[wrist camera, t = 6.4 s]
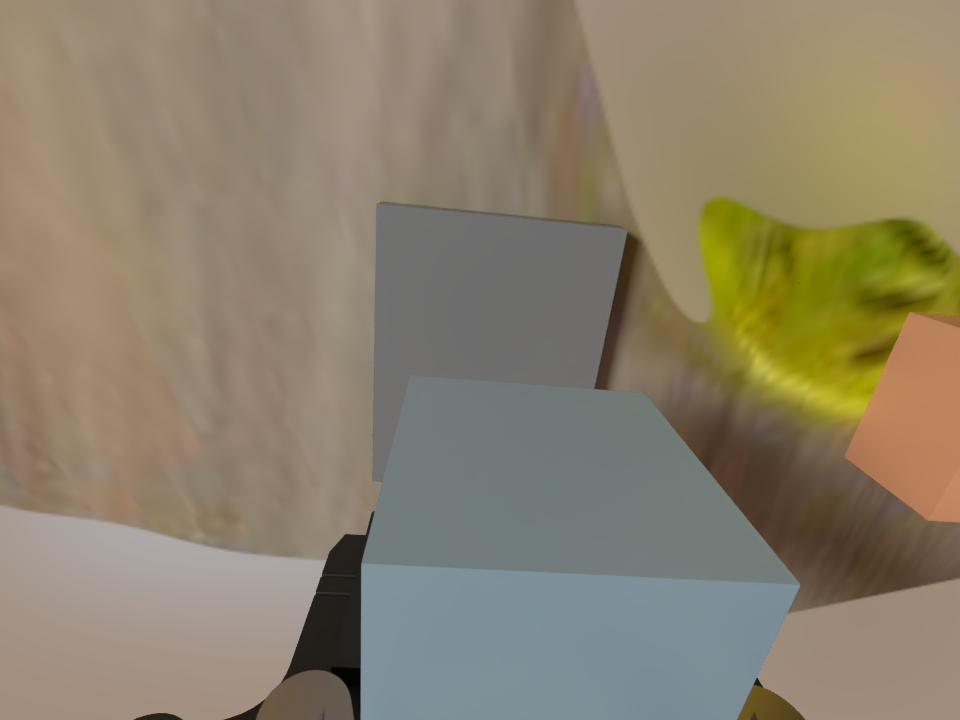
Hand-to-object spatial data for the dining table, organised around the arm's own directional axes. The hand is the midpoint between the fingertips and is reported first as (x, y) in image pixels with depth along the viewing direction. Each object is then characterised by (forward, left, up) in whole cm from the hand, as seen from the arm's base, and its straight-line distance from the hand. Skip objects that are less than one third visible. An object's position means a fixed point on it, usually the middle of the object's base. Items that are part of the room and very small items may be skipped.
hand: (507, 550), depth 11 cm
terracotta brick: (-22, 0, -12) cm, 25 cm away
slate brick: (0, 0, -1) cm, 1 cm away
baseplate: (0, 0, -12) cm, 12 cm away
